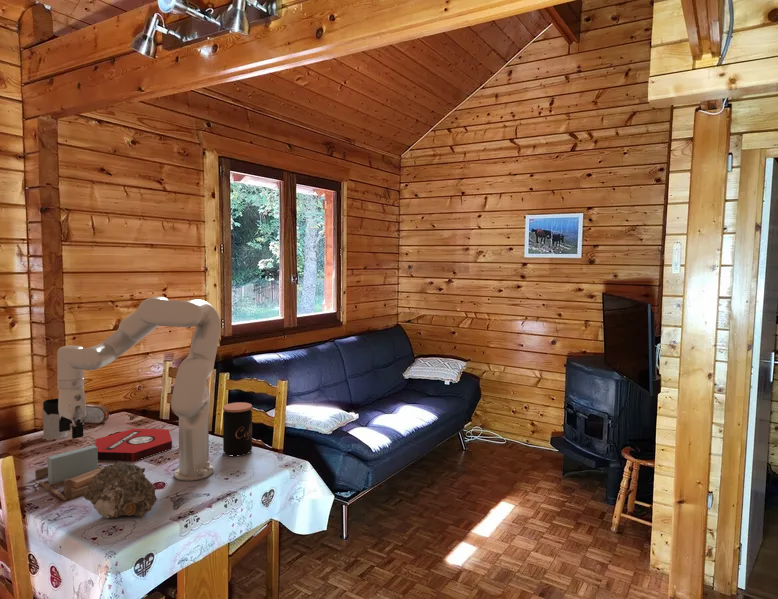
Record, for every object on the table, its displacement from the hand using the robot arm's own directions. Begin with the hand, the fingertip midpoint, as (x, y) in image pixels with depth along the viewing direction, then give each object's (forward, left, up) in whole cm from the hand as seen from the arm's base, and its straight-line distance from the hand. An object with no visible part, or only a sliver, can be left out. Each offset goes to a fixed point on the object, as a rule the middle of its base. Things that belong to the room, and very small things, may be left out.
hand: (71, 434), depth 168 cm
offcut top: (-11, 0, -13) cm, 17 cm away
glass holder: (+48, -16, -15) cm, 52 cm away
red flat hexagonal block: (+12, -27, -16) cm, 33 cm away
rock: (-37, -1, -15) cm, 40 cm away
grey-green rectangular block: (0, 0, -15) cm, 15 cm away
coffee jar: (-23, -49, -15) cm, 56 cm away
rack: (-4, 0, -15) cm, 15 cm away
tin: (+56, -31, -15) cm, 66 cm away
